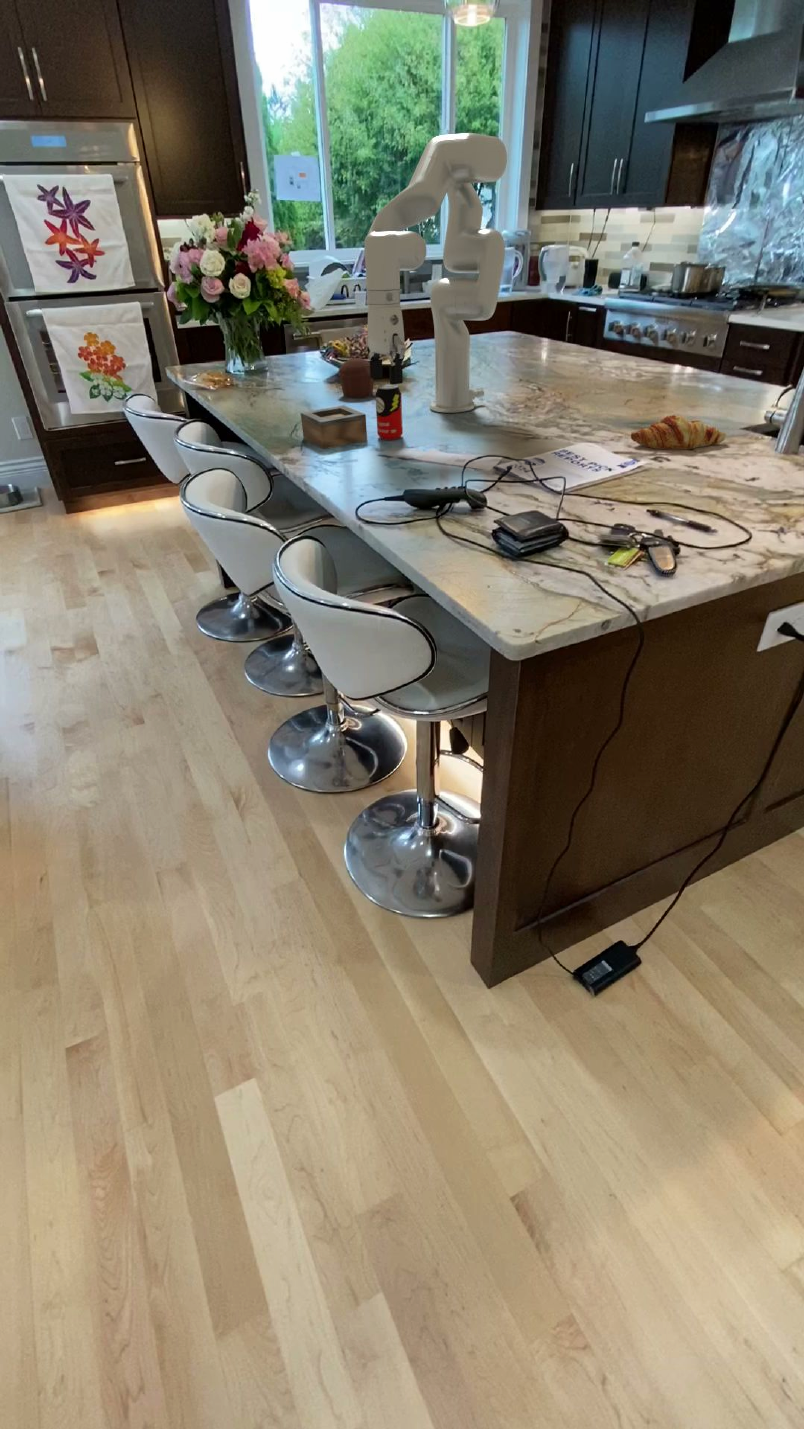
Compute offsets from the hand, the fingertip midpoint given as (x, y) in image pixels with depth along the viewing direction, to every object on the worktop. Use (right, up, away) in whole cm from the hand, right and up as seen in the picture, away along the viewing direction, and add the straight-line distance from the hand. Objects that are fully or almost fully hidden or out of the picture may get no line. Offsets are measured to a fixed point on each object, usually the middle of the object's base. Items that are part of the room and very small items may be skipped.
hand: (386, 380), depth 174 cm
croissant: (+67, -18, -7) cm, 70 cm away
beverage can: (+1, -11, +8) cm, 13 cm away
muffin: (-10, +18, +50) cm, 54 cm away
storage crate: (-13, -11, +8) cm, 19 cm away
